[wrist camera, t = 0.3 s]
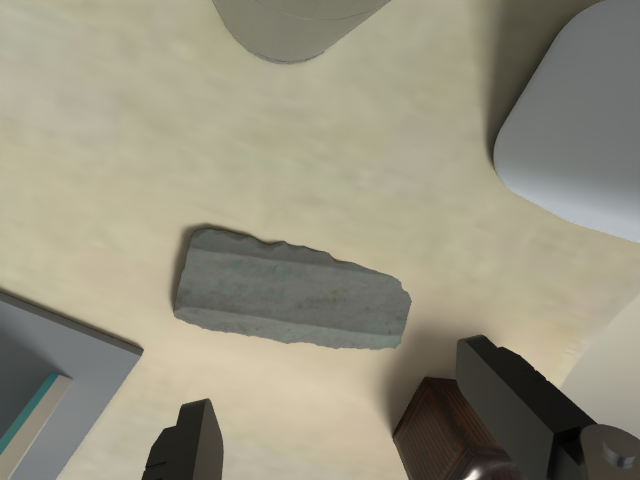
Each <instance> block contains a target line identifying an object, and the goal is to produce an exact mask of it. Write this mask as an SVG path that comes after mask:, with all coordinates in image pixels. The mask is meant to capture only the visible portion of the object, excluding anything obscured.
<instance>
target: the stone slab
mask: <svg viewBox="0 0 640 480" xmlns="http://www.w3.org/2000/svg"><path fill="white" fill-rule="evenodd" d="M411 302H412V301H411V298H410V296H409V294H408V292H406V291H404V290H403V289H402V286H401V282H400V281H399V280H398V279H396V278H394V277H392V276H390V275H387V274H383V273H380V272H377V271H374V270H371V269H368V268H365V267H363V266H360V265H358V264H356V263H352V262H340V261H336V260H335V259H333V258H332V256H331V255H330V254H329V253H327V252H324V251H314V250H311V249H309V248H307V247H305V246H292V245H289V244H287V243H286V242H279V243H276V244H273V245H266V244H264V243H261V242H259V241H258V240H256V239H255V238H253V237H251V236H244V235H241V234H234V233H231V232H228V231H225V230H220V231H217V230H213V229H203V230H197V231H195V232H194V233H193V235H192V236H191V240H190V244H189V247H188V250H187V254H186V260H185V265H184V267H183V269H182V272H181V277H180V282H179V286H178V291H177V297H176V300H175V306H174V310H173V313H174V317H176V318H177V319H180V320H183V321H185V322H187V323H189V324H194V325H197V326H200V327H201V328H203V329H208V330H211V331H222V332H225V333H227V332H232V333H238V334H242V335H246V336H257V337H261V338H267V339H271V340H275V341H278V342H283V343H286V344H289V343H297V342H304V343H313V344H316V345H318V346H325V347H330V348H334V349H338V348H357V349H371V350H380V349H383V348H396V347H397V346H398V345H399V344H400V341H401V336H402V334H403V331H404V328H405V324H406V321H407V316H408V312H409V308H410V305H411Z"/></svg>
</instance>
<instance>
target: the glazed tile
mask: <svg viewBox="0 0 640 480" xmlns="http://www.w3.org/2000/svg"><path fill="white" fill-rule="evenodd" d="M72 382H73V379H70V378H67V377H64V376H61V375H59V374H56V373H53V372H52V373H51V374H50V375H49V377H48V378H47V379H46V381H45V382H44V383H43V385H42V386H41V387H40V388H39V390H38V391H37V392H36V394H35V395H34V396H33V398H32V399H31V400H30V402H29V403H28V404H27V405H26V407H25V408H24V409H23V411H22V412H21V413H20V415H19V416H18V417H17V419H16V420H15V421H14V422H13V424H12V425H11V426H10V428H9V429H8V430H7V432H6V433H5V434H4V436H3V437H2V438H1V439H0V480H9V478H10V477H11V475H12V474H13V472H14V471H15V469H16V468H17V466H18V465H19V463H20V462H21V460H22V459H23V457H24V456H25V454H26V453H27V451H28V450H29V448H30V447H31V445H32V444H33V442H34V440H35V439H36V437H37V436H38V434H39V433H40V431H41V430H42V428H43V427H44V425H45V423H46V422H47V420H48V419H49V417H50V416H51V414H52V413H53V411H54V409H55V408H56V406H57V405H58V403H59V402H60V400H61V399H62V397H63V396H64V394H65V392H66V391H67V389H68V388H69V386H70V385H71V383H72Z"/></svg>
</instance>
